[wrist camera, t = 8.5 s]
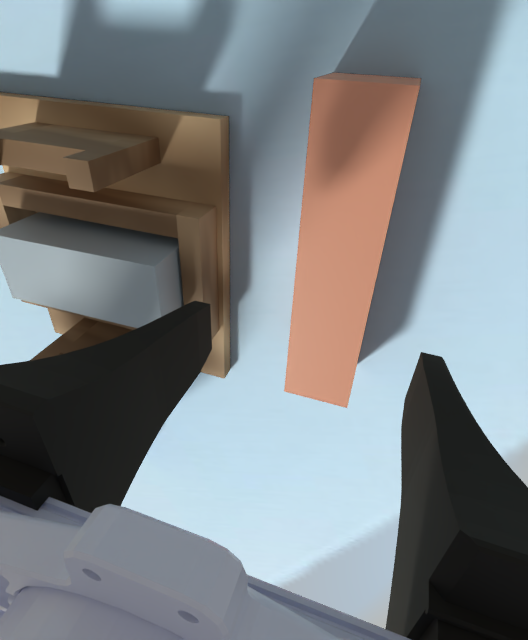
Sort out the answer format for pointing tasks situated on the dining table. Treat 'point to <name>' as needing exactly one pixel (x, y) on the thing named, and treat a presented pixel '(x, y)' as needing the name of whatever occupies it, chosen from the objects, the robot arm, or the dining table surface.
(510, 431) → the dining table surface
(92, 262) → the pale grey pillar block
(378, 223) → the terracotta rectangular bar
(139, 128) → the jig
